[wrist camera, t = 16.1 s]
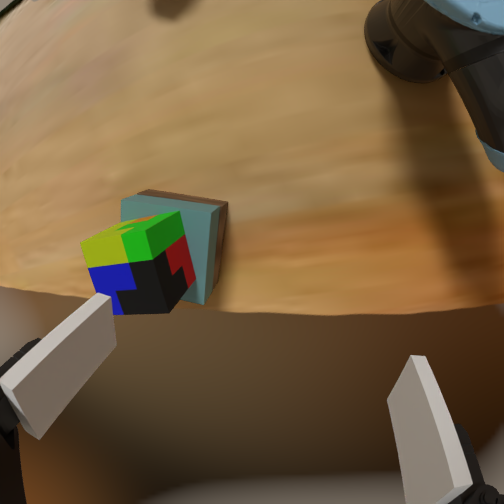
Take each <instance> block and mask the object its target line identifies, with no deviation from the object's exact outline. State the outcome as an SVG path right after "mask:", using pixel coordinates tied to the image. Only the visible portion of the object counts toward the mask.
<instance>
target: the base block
mask: <svg viewBox="0 0 504 504" xmlns="http://www.w3.org/2000/svg"><path fill="white" fill-rule="evenodd" d="M137 195H145V196H153V197H160V198H168V199H175V200H182V201H189V202H196V203H203V204H210V205H216V206H220V212H219V222H218V232H217V242H216V253H215V264H214V275H213V288H212V291H213V289H214V287H215V286H216V284H217V283H218V278H219V270H220V261H221V253H222V245H223V237H224V229H225V221H226V214H227V206H228V202H226V201H221V200H215V199H209V198H202V197H196V196H190V195H184V194H177V193H171V192H164V191H157V190H150V189H148V190H145V191H142V192H139V193H137Z"/></svg>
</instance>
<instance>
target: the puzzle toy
mask: <svg viewBox="0 0 504 504" xmlns="http://www.w3.org/2000/svg"><path fill="white" fill-rule="evenodd" d="M80 244H81V248H82V251H83V254H84V258H85V261H86V264H87V267H88V270H89V273H90V276H91V279H92V282H93V285H94V288H95V290H96V293H101V294H104V295H107V296H111V300H112V310H113V315H131V314H162V313H170V312H171V310H172V309H173V308H174V306H175V305H176V304H177V303H178V301H179V300H180V299H181V297H182V296H183V295H184V294H185V292H186V291H187V290H188V288H189V287H190V286H191V285H192V283H193V282H194V281H195V280H196V275H195V271H194V268H193V264H192V260H191V256H190V252H189V248H188V243H187V239H186V235H185V231H184V227H183V222H182V218H181V214H180V211H175V212H169V213H164V214H159V215H154V216H149V217H144V218H139V219H134V220H129V221H124V222H120V223H118V224H116V225H114V226H112V227H110V228H108V229H106V230H104V231H102V232H100V233H98V234H96V235H94V236H92V237H90V238H88V239H86V240H84V241H82V242H81V243H80Z"/></svg>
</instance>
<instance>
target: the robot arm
mask: <svg viewBox="0 0 504 504" xmlns="http://www.w3.org/2000/svg"><path fill="white" fill-rule="evenodd" d="M364 33H365V39H366V42H367V45H368V47H369V49H370V51H371V52H372V54H373V56H374V57H375V58H376V60H377V61H378V62H379V63H380V64H381V65H382V66H383V67H384V68H385V69H387V70H388V71H389V72H391V73H392V74H394V75H395V76H397V77H399V78H401V79H404V80H407V81H410V82H415V83H428V82H432V81H435V80H437V79H439V78H441V77H443V76H444V75H446V74H447V73H448V75H449V76H450V78H451V80H452V82H453V84H454V85H455V87H456V89H457V91H458V93H459V95H460V97H461V99H462V101H463V103H464V105H465V107H466V109H467V111H468V113H469V115H470V117H471V119H472V122H473V124H474V126H475V128H476V135H477V138H478V139H479V140H480V142H481V143H482V145H483V147H484V150H485V152H486V154H487V157H488V159H489V160H490V162H491V163H492V164H493V165H494V166H495V167H496V168H497V169H498V170H500V171H502V172H504V0H381V1H379V2H378V3H376V4H375V5H374V6H373V7H372V9H371V10H370V12H369V14H368V16H367V18H366V21H365V25H364ZM467 65H468V66H467ZM462 67H463V68H462ZM460 68H461V69H460ZM451 72H452V73H451ZM116 345H117V343H116V335H115V328H114V319H113V310H112V300H111V296H107V295H104V294H101V293H97V294H95V295H94V296H93V297H92V298H90V299H89V300H88V301H87V302H86V303H84V304H83V305H82V306H81V307H80V308H78V309H77V310H76V311H75V312H74V313H72V314H71V315H70V316H69V317H68V318H67V319H65V320H64V321H63V322H62V323H61V324H59V325H58V326H57V327H56V328H55V329H54V330H52V331H51V332H50V333H49V334H48V335H47V336H46V337H44V338H43V339H40V338H37V339H35V340H33V341H31V342H28V343H27V344H26V345H24V347H22V348H21V349H20V351H18V352H17V353H15V354H14V355H13V357H11V358H10V359H9V360H8V361H6V362H5V363H4V364H3V365H2V366H1V367H0V504H27V503H26V497H25V492H24V486H23V479H22V470H21V461H20V452H19V434H18V428H17V426H16V425H17V424H18V423H19V422H21V424H22V426H23V427H24V429H25V431H27V432H28V433H30V434H31V435H33V436H34V437H36V438H37V439H39V440H40V438H41V437H42V436H43V434H44V433H45V432H46V431H47V429H48V428H49V427H50V426H51V424H52V423H53V422H54V421H55V419H56V418H57V417H58V416H59V414H60V413H61V412H62V411H63V409H64V408H65V407H66V406H67V404H68V403H69V402H70V400H71V399H72V398H73V397H74V396H75V394H76V393H77V392H78V391H79V389H80V388H81V387H82V386H83V385H84V383H85V382H86V381H87V380H88V379H89V377H90V376H91V375H92V374H93V373H94V371H95V370H96V369H97V368H98V367H99V365H100V364H101V363H102V362H103V361H104V360H105V358H106V357H107V356H108V355H109V353H110V352H111V351H112V350H113V349H114V348H115V347H116ZM387 402H388V406H389V411H390V415H391V420H392V425H393V430H394V435H395V440H396V445H397V449H398V455H399V461H400V467H401V473H402V478H403V485H404V493H405V500H406V504H504V495H502V494H499V492H498V491H497V489H496V488H494V487H493V486H490V485H486V484H485V482H484V480H483V476H482V473H481V470H480V467H479V464H478V461H477V458H476V455H475V454H474V449H473V446H472V445H471V441H470V439H469V436H468V433H467V432H466V430H465V429H464V428H463V427H462V426H461V424H453V422H452V419H451V417H450V414H449V411H448V409H447V406H446V404H445V401H444V399H443V396H442V394H441V391H440V389H439V387H438V384H437V382H436V380H435V377H434V375H433V373H432V371H431V368H430V366H429V364H428V361H427V359H426V357H425V356H415V355H410V358H409V359H408V361H407V363H406V366H405V367H404V369H403V371H402V373H401V375H400V377H399V379H398V381H397V383H396V384H395V386H394V388H393V390H392V392H391V393H390V395H389V397H388V399H387Z"/></svg>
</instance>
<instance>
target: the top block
mask: <svg viewBox="0 0 504 504" xmlns="http://www.w3.org/2000/svg"><path fill="white" fill-rule="evenodd" d="M175 211H180V214H181V218H182V222H183V227H184V231H185V235H186V239H187V243H188V248H189V252H190V256H191V260H192V264H193V268H194V271H195V275H196V280H195V281H194V282H193V283H192V285H191V286H190V287H189V288H188V290H187V291H186V292H185V294H184V295H183V296H182V297H181V299H180V300H184V301H188V302H193V303H197V304H202V305H204V304H205V302H206V301H207V299H208V297H209V296H210V294H211V293H212V288H213V275H214V264H215V253H216V242H217V232H218V222H219V212H220V206H216V205H210V204H203V203H196V202H189V201H182V200H175V199H168V198H160V197H153V196H145V195H137V194H136V195H133V196H130V197H127V198H125V199H122V200H121V222H124V221H129V220H134V219H139V218H144V217H149V216H154V215H159V214H164V213H169V212H175Z"/></svg>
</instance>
